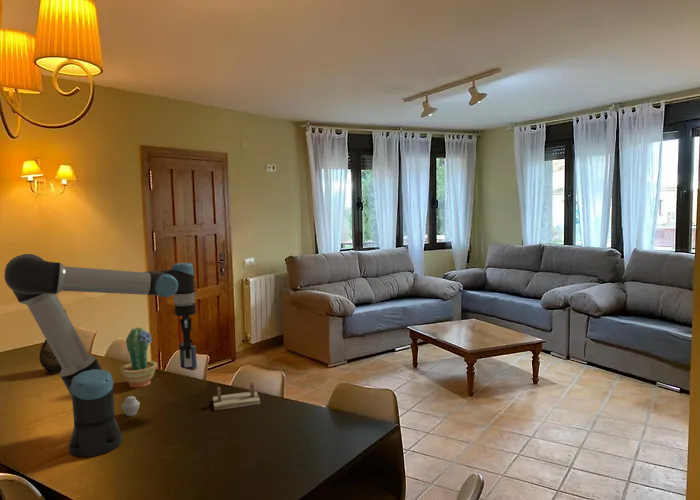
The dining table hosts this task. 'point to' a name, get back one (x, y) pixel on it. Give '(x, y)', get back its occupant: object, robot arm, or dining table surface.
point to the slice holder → (235, 399)
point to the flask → (194, 361)
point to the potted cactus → (138, 359)
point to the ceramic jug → (49, 359)
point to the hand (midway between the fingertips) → (188, 363)
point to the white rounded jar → (130, 406)
